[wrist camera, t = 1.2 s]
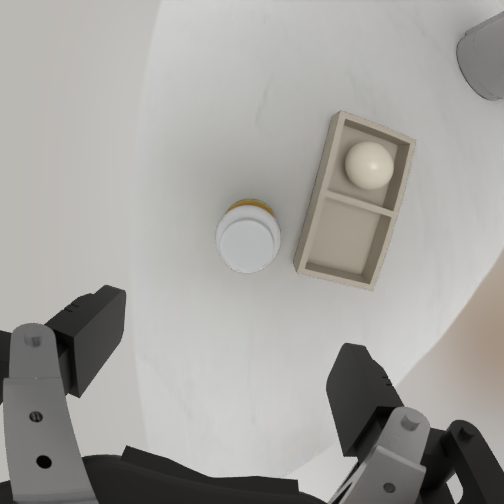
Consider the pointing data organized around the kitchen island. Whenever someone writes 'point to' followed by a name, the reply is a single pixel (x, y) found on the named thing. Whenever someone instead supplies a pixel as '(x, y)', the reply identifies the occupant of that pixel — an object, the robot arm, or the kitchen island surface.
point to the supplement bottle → (248, 236)
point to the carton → (352, 208)
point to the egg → (369, 165)
